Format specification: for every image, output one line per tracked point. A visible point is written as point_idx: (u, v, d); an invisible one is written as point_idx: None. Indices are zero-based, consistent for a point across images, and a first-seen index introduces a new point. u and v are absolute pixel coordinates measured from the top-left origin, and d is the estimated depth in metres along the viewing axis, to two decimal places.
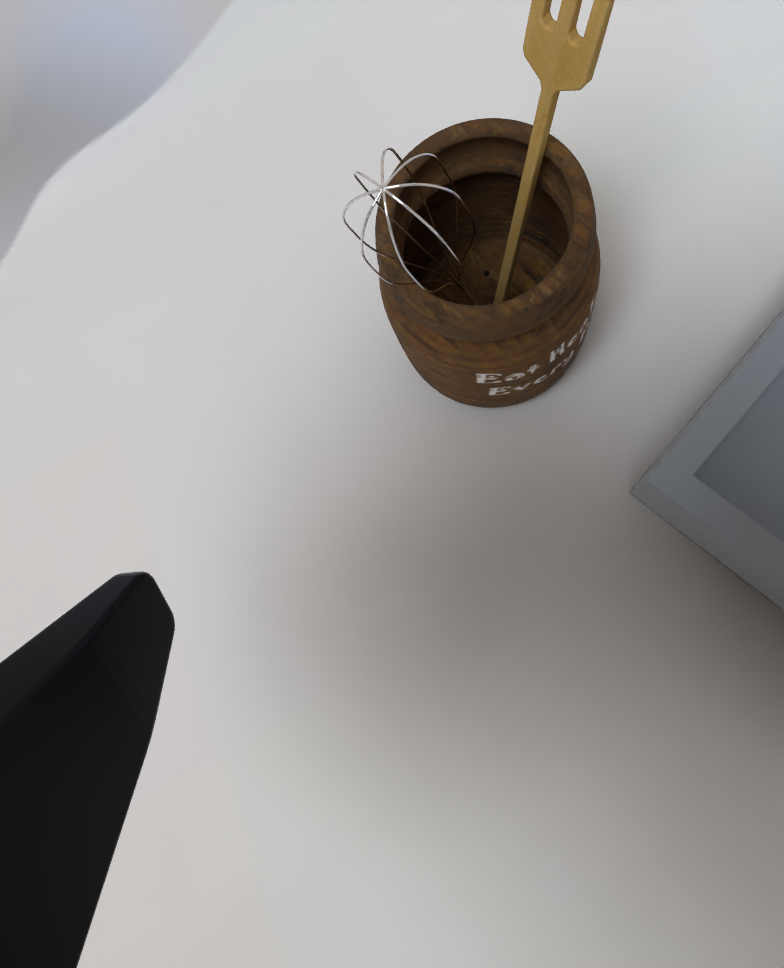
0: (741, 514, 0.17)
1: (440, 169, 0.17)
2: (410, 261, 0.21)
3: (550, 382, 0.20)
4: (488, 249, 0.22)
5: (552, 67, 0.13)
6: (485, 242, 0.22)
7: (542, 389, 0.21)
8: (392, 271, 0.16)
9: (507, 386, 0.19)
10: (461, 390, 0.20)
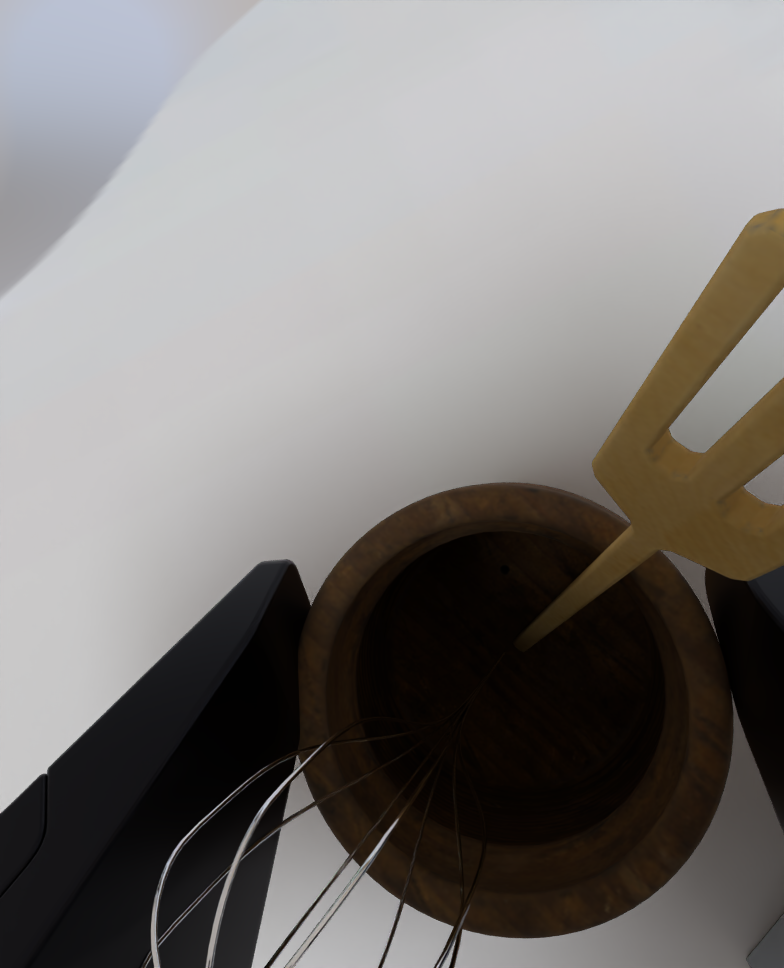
0: None
1: None
2: None
3: None
4: (507, 533, 0.14)
5: (666, 523, 0.06)
6: None
7: None
8: None
9: None
10: None
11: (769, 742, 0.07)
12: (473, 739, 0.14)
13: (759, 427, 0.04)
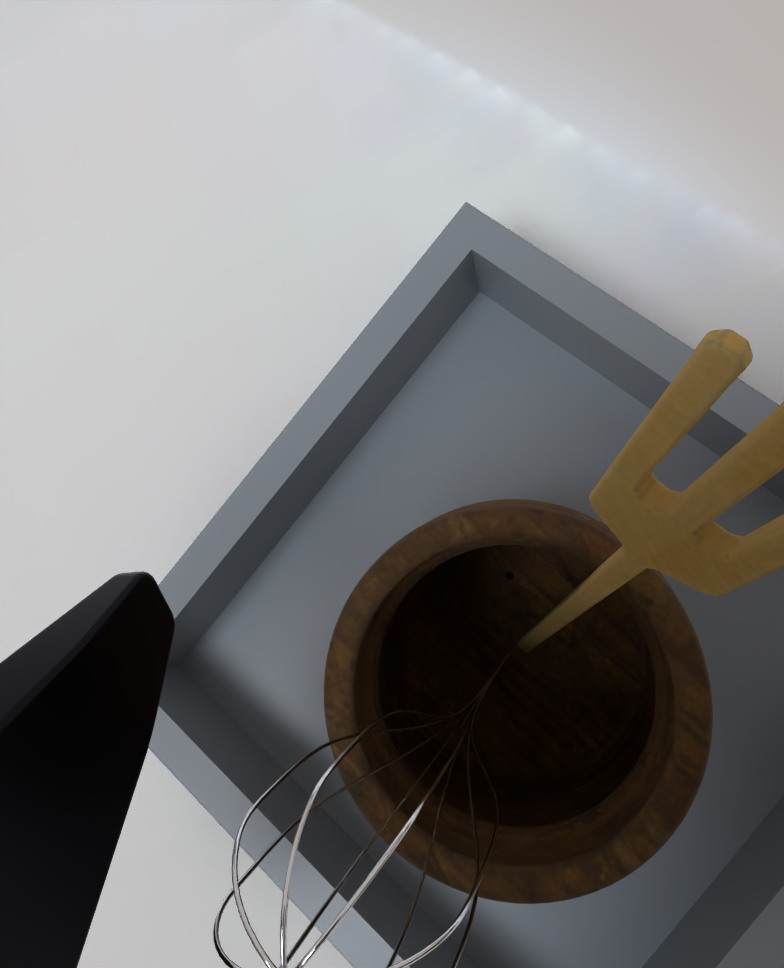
0: (174, 726, 0.15)
1: None
2: None
3: None
4: None
5: (651, 547, 0.07)
6: None
7: None
8: None
9: None
10: None
11: None
12: (480, 733, 0.15)
13: (720, 479, 0.05)
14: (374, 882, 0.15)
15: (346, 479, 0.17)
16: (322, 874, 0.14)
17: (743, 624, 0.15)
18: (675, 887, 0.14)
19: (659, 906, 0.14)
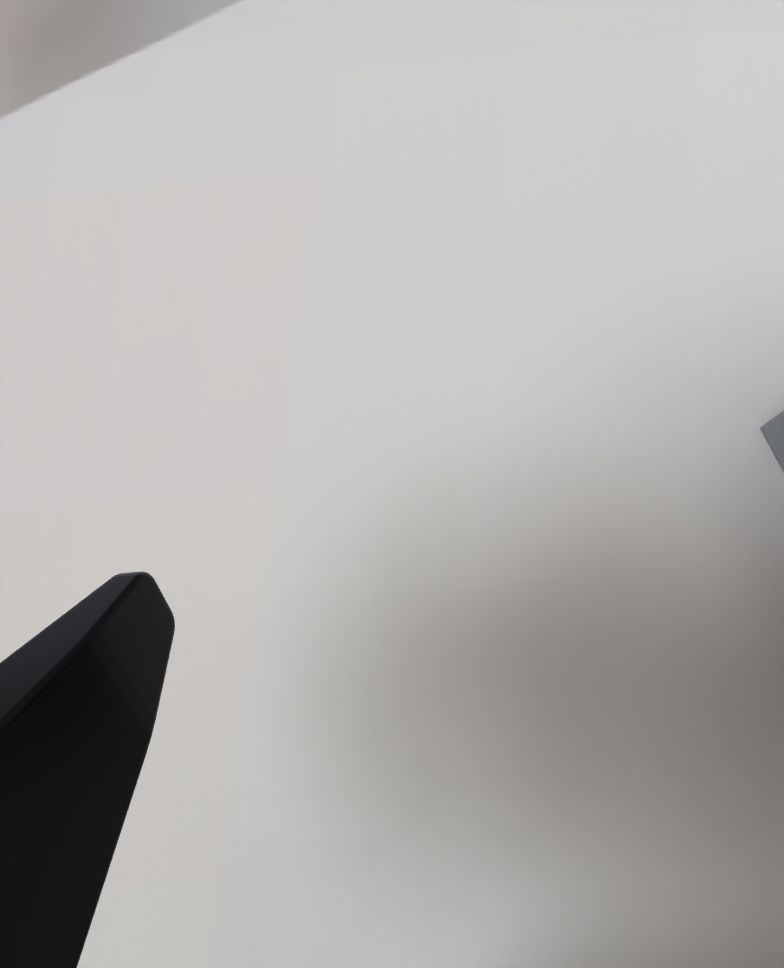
0: None
1: None
2: None
3: None
4: None
5: None
6: None
7: None
8: None
9: None
10: None
11: None
12: None
13: None
14: None
15: None
16: None
17: None
18: None
19: None
